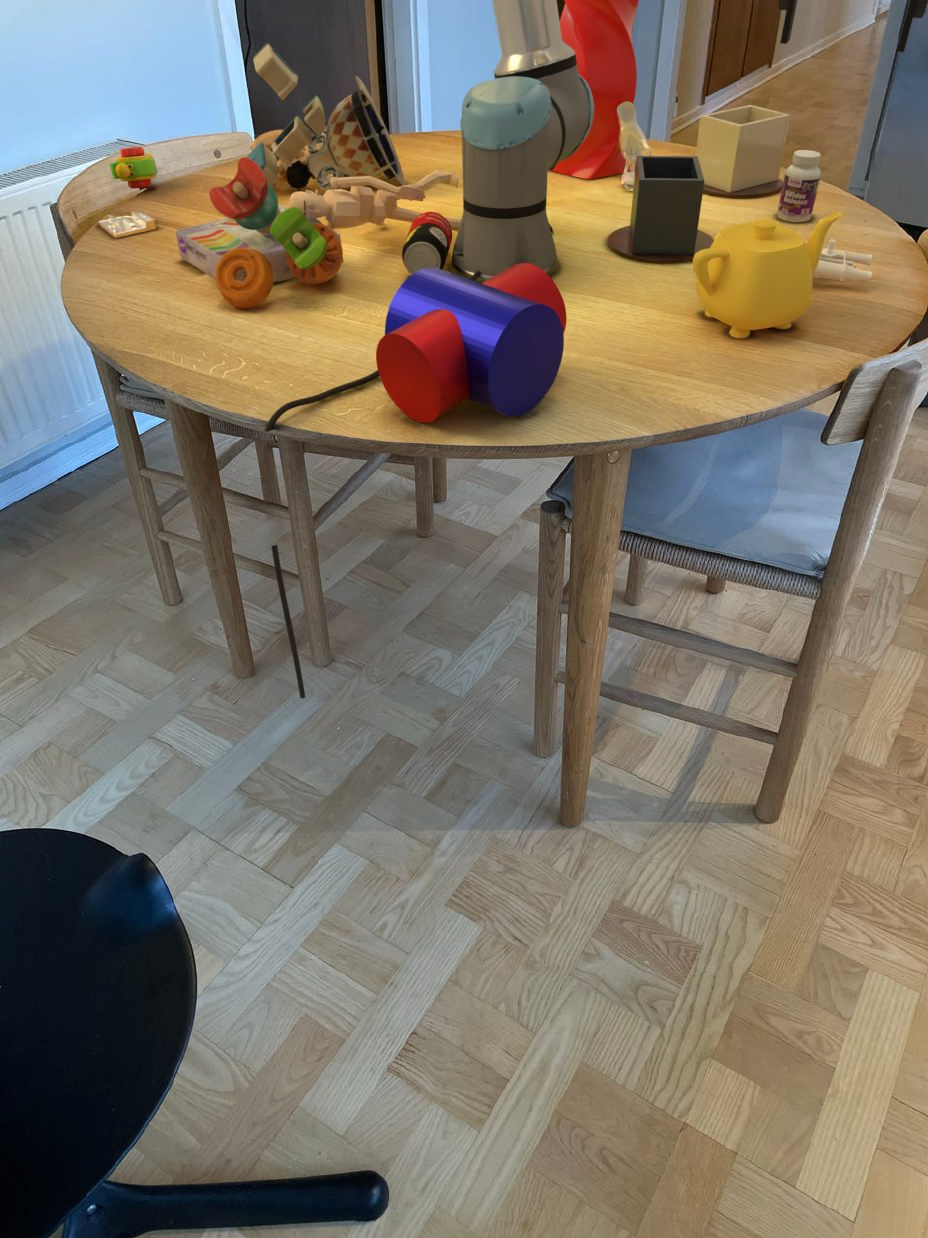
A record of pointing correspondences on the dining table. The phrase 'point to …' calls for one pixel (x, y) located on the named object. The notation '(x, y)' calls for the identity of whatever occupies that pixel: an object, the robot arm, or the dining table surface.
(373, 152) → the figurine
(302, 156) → the toy
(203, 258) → the cake pan box
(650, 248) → the slate bin
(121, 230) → the whitish tan flat slab
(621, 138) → the plaster hands
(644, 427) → the dining table surface
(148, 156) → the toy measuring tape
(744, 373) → the dining table surface
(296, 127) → the toy kitchen set
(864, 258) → the toy telescope
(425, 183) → the human figure
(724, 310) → the teapot
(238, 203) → the toy bolts
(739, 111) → the cream bin
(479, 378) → the blue red crossed cylinders
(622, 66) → the vase
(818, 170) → the pill bottle
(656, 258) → the front turntable
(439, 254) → the beverage can
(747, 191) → the back turntable
